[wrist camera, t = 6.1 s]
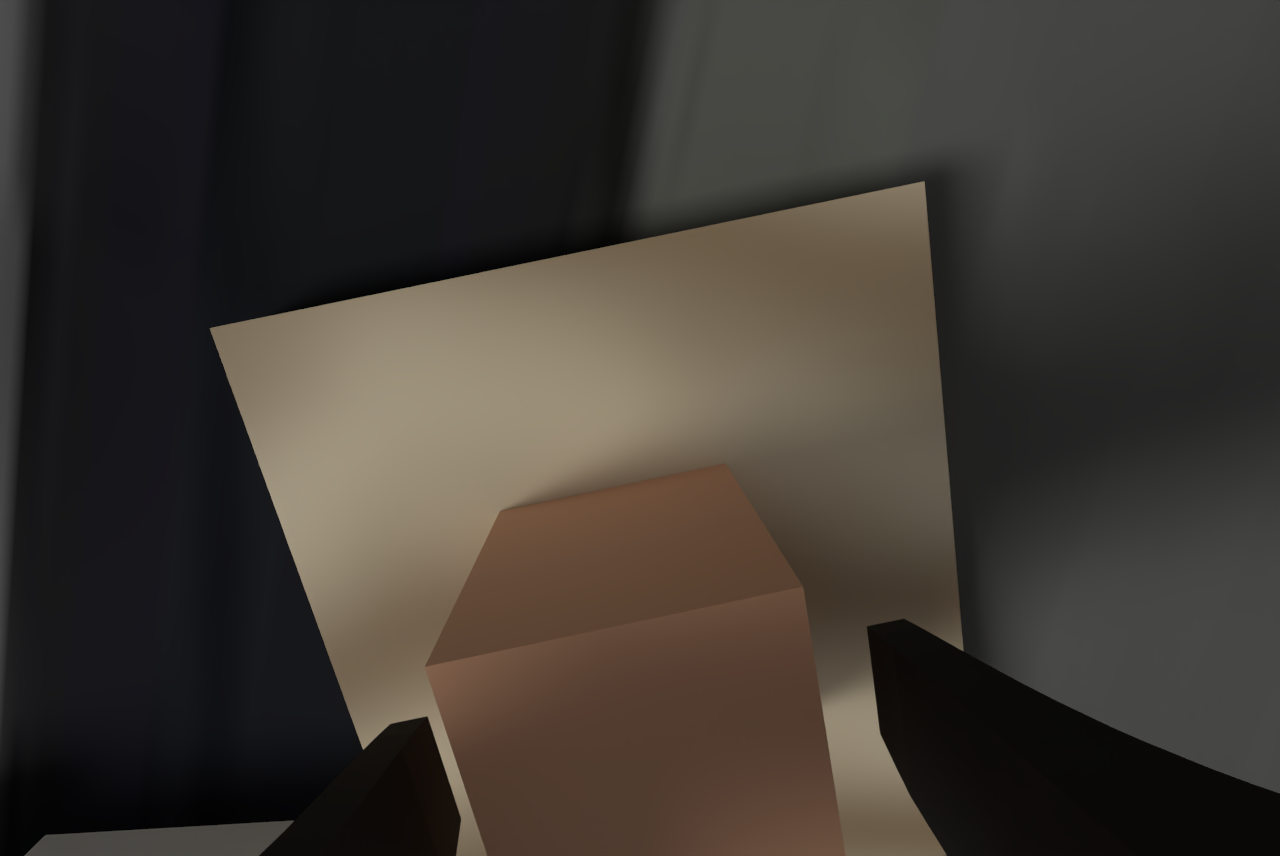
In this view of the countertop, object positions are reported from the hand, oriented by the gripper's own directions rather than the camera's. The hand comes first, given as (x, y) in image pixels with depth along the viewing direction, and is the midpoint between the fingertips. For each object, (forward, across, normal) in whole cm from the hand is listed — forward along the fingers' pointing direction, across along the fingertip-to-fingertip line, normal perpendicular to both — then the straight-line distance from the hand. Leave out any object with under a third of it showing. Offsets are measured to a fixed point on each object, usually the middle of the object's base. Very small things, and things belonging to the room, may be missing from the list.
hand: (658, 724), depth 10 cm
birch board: (+4, 0, 0) cm, 4 cm away
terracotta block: (+3, 0, 0) cm, 3 cm away
